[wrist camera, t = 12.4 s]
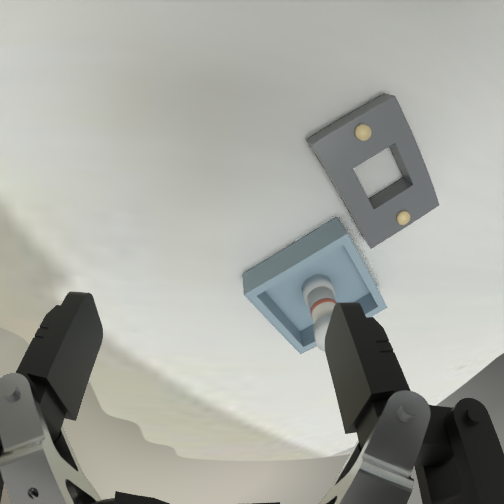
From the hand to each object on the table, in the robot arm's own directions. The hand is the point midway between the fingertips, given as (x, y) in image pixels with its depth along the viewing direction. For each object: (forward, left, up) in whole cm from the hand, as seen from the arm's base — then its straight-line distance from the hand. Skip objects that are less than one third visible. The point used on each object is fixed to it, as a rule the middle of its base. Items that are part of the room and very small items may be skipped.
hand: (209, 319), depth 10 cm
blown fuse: (+1, +20, -23) cm, 31 cm away
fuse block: (-12, +11, -24) cm, 29 cm away
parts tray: (+1, +20, -24) cm, 31 cm away
